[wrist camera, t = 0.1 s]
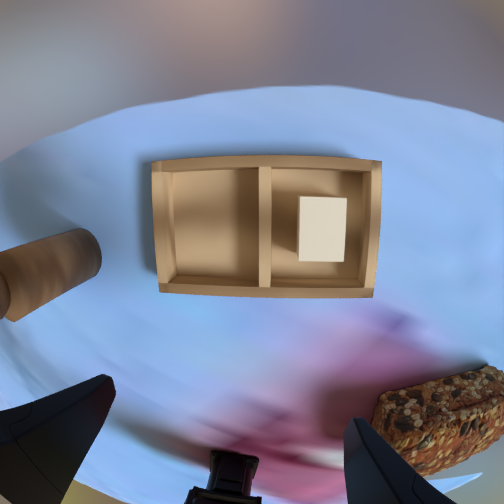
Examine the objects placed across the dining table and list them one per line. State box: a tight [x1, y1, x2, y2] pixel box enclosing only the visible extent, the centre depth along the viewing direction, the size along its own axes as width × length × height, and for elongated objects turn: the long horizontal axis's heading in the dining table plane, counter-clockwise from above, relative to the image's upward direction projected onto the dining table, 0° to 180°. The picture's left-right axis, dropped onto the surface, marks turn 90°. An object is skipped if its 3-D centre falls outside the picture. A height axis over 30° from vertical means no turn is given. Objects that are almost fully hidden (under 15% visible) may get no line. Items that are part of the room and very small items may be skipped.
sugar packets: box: [296, 196, 347, 262], centre depth 19 cm, size 4×3×2 cm
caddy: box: [152, 155, 382, 298], centre depth 20 cm, size 10×16×3 cm, turn 90°
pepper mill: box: [0, 229, 102, 322], centre depth 17 cm, size 5×5×14 cm
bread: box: [371, 365, 504, 477], centre depth 19 cm, size 19×11×10 cm, turn 92°
